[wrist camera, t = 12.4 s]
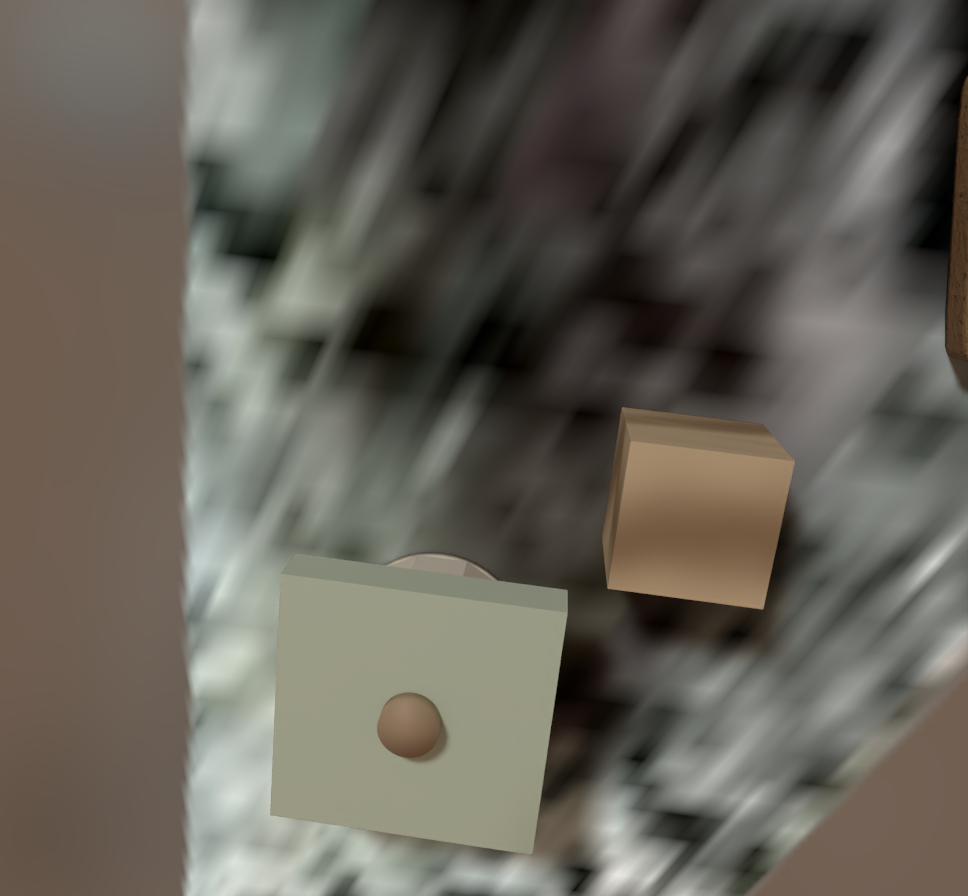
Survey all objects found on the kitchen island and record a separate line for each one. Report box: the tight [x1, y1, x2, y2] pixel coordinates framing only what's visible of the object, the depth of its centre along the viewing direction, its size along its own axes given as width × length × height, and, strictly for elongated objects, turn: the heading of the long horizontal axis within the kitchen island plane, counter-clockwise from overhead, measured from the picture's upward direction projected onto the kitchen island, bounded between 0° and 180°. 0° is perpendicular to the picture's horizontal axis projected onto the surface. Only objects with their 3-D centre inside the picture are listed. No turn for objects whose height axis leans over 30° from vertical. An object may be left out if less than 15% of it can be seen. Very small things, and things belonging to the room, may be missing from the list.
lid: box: [270, 554, 568, 855], centre depth 36 cm, size 11×11×3 cm
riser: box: [602, 407, 795, 609], centre depth 36 cm, size 6×6×6 cm
